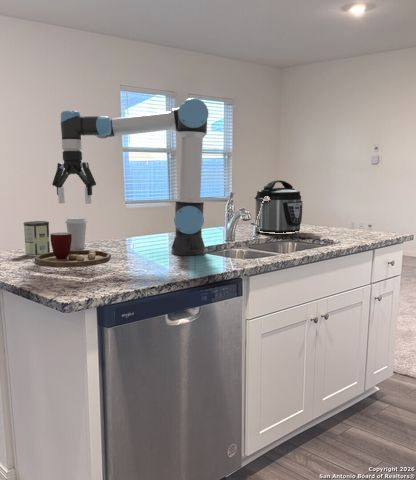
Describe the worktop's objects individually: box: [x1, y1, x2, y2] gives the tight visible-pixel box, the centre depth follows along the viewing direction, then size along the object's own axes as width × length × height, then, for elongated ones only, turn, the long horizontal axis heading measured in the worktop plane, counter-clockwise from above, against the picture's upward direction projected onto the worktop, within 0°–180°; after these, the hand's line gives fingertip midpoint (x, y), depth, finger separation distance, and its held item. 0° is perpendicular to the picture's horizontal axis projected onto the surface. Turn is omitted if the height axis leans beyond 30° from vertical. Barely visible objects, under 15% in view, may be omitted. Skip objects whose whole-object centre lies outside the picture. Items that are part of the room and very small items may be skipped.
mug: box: [49, 232, 72, 259], centre depth 191 cm, size 10×8×10 cm
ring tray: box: [34, 249, 112, 268], centre depth 188 cm, size 28×28×3 cm
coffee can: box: [23, 220, 51, 257], centre depth 206 cm, size 10×10×14 cm
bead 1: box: [76, 255, 84, 262], centre depth 182 cm, size 3×3×3 cm
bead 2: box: [88, 253, 95, 260], centre depth 186 cm, size 3×3×3 cm
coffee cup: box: [65, 216, 88, 250], centre depth 217 cm, size 10×10×15 cm
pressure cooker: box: [254, 179, 303, 233], centre depth 286 cm, size 30×28×32 cm
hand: (74, 203), depth 195 cm, fingers open, 13 cm apart
